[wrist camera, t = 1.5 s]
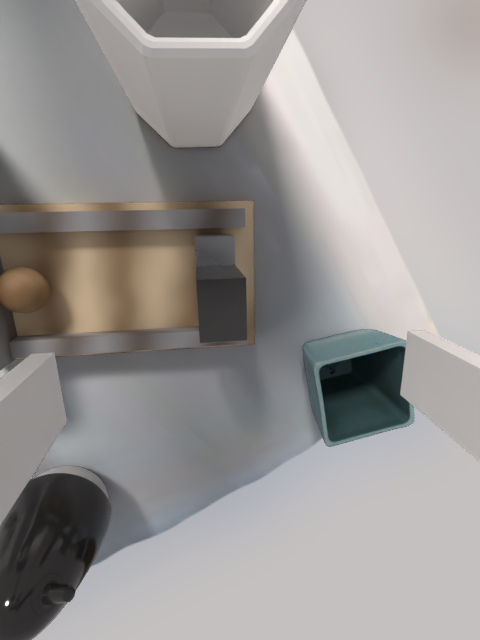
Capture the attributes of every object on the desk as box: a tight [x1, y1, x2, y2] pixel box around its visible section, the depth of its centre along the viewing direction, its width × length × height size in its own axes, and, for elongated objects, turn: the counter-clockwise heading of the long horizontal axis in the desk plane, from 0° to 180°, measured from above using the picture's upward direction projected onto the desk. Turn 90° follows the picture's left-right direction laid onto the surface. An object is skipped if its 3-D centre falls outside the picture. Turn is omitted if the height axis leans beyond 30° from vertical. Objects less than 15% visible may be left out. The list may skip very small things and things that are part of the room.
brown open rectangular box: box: [0, 201, 255, 370], centre depth 30 cm, size 26×14×9 cm, turn 91°
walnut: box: [0, 266, 50, 313], centre depth 29 cm, size 4×4×4 cm
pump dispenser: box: [0, 466, 111, 640], centre depth 33 cm, size 10×10×15 cm
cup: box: [74, 0, 307, 148], centre depth 21 cm, size 11×11×18 cm
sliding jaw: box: [194, 233, 247, 343], centre depth 27 cm, size 3×8×12 cm, turn 1°
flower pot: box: [302, 329, 414, 447], centre depth 35 cm, size 9×9×9 cm
